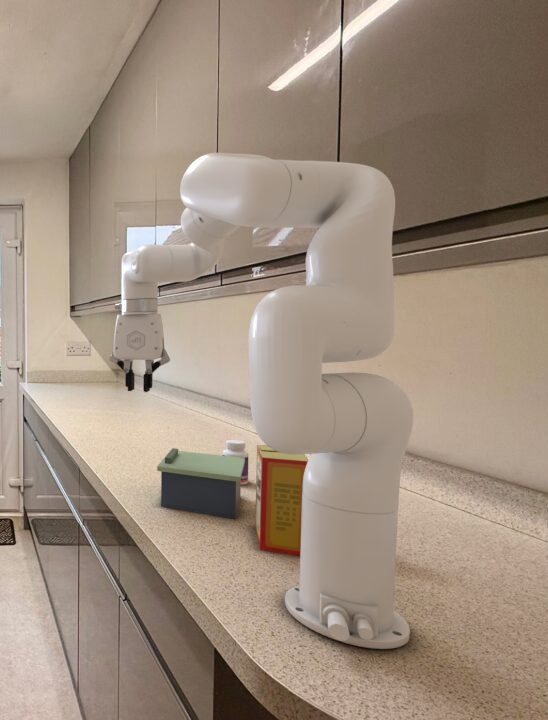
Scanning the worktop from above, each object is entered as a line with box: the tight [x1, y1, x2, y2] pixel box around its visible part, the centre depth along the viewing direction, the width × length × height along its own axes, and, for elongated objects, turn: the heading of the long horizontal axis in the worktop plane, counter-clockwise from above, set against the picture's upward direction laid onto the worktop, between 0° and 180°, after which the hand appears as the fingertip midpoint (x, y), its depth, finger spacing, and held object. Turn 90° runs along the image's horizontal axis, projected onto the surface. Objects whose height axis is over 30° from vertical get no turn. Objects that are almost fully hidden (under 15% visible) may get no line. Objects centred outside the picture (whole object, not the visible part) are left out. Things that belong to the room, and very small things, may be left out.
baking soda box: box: [254, 444, 309, 557], centre depth 85 cm, size 10×6×16 cm
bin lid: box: [156, 447, 245, 482], centre depth 104 cm, size 15×15×2 cm
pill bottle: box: [222, 439, 249, 486], centre depth 117 cm, size 5×5×10 cm
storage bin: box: [160, 471, 242, 520], centre depth 105 cm, size 14×14×8 cm
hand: (138, 390), depth 110 cm, fingers closed
